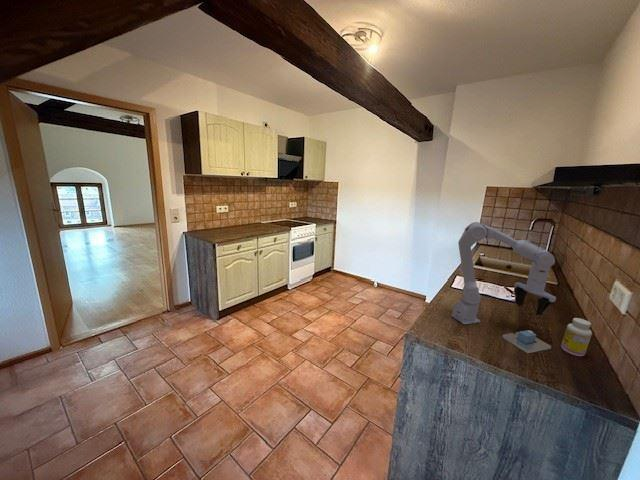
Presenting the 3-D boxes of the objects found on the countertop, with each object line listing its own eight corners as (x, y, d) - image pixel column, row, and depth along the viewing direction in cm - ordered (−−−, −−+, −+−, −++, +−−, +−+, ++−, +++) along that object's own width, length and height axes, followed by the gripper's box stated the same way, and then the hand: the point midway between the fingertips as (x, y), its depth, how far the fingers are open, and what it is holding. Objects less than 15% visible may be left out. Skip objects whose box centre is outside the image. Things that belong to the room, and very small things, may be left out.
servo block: (524, 346, 99) (527, 334, 97) (516, 341, 101) (519, 330, 100) (533, 344, 100) (536, 333, 99) (525, 340, 103) (528, 328, 102)
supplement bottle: (559, 343, 101) (568, 314, 98) (583, 350, 97) (593, 320, 94) (561, 351, 96) (570, 321, 93) (585, 359, 92) (596, 328, 89)
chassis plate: (527, 353, 94) (528, 350, 94) (502, 337, 104) (502, 334, 103) (550, 348, 98) (551, 346, 97) (523, 333, 107) (524, 331, 107)
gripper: (565, 285, 97) (555, 317, 100) (525, 272, 110) (518, 300, 114) (552, 287, 95) (542, 319, 98) (513, 273, 108) (506, 302, 112)
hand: (529, 309), depth 106 cm, fingers open, 7 cm apart
